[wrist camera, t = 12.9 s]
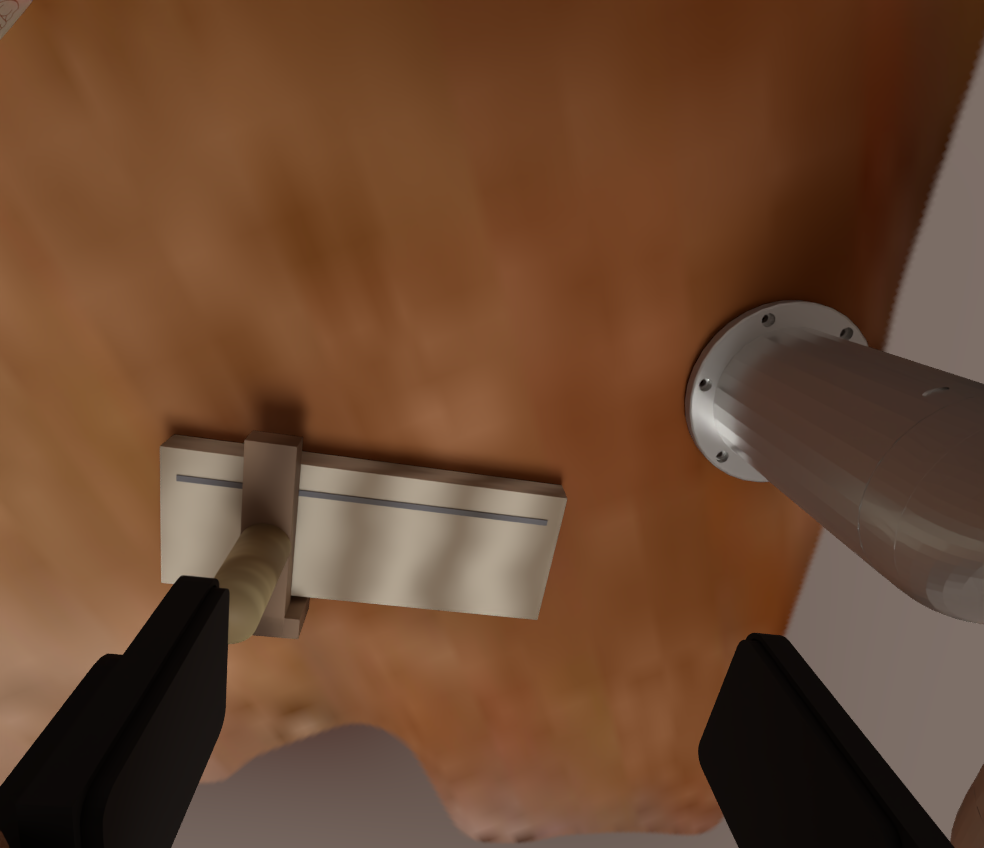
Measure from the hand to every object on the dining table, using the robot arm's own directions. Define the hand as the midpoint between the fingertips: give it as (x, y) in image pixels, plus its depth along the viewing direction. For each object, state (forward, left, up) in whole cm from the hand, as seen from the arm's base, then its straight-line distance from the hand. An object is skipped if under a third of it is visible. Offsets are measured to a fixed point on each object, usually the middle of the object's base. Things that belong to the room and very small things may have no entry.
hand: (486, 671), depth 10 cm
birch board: (+4, +14, -28) cm, 32 cm away
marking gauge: (+10, +14, -28) cm, 33 cm away
